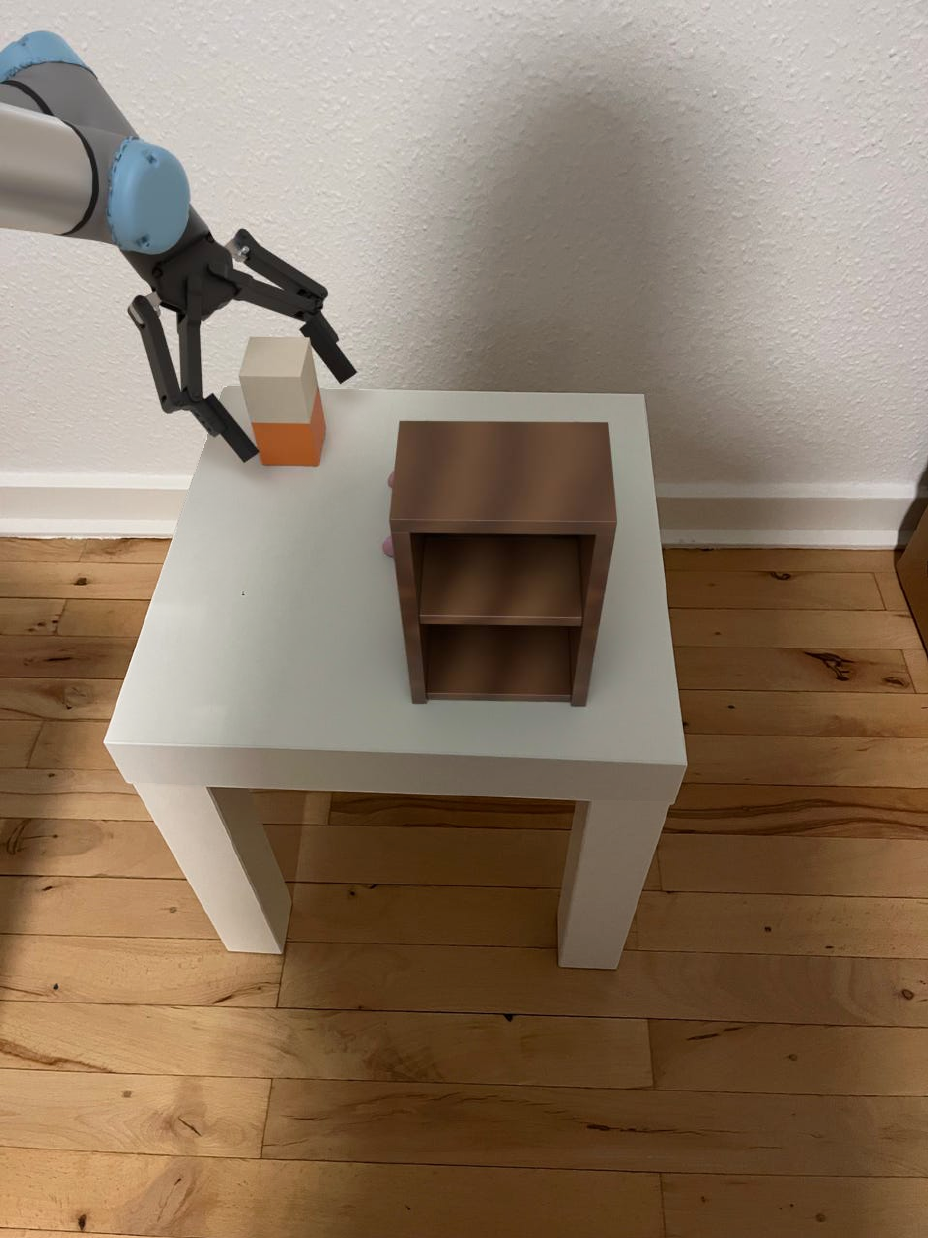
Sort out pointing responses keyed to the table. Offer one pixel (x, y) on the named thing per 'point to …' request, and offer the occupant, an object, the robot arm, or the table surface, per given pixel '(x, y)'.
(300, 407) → the cream and orange block
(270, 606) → the table surface
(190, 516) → the table surface
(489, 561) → the shelf
